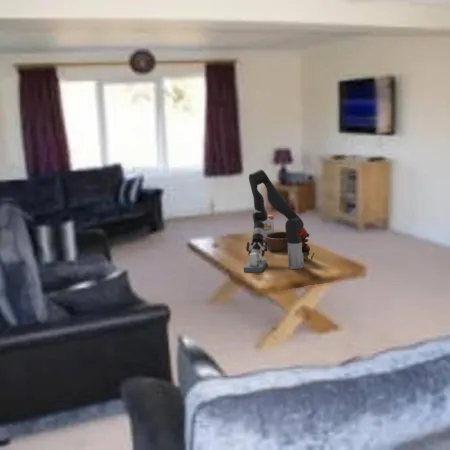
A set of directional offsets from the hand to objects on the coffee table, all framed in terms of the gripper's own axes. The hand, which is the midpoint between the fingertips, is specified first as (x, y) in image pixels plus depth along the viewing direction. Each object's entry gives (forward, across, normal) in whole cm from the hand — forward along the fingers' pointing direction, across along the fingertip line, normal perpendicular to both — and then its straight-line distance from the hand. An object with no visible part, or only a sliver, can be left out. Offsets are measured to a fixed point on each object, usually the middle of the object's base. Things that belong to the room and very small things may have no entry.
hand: (256, 256), depth 451 cm
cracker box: (-44, -5, +54) cm, 70 cm away
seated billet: (+12, 0, -2) cm, 12 cm away
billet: (+4, 0, +5) cm, 7 cm away
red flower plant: (-7, +30, +16) cm, 35 cm away
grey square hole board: (+8, 0, +1) cm, 8 cm away
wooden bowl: (-30, +12, +40) cm, 51 cm away
